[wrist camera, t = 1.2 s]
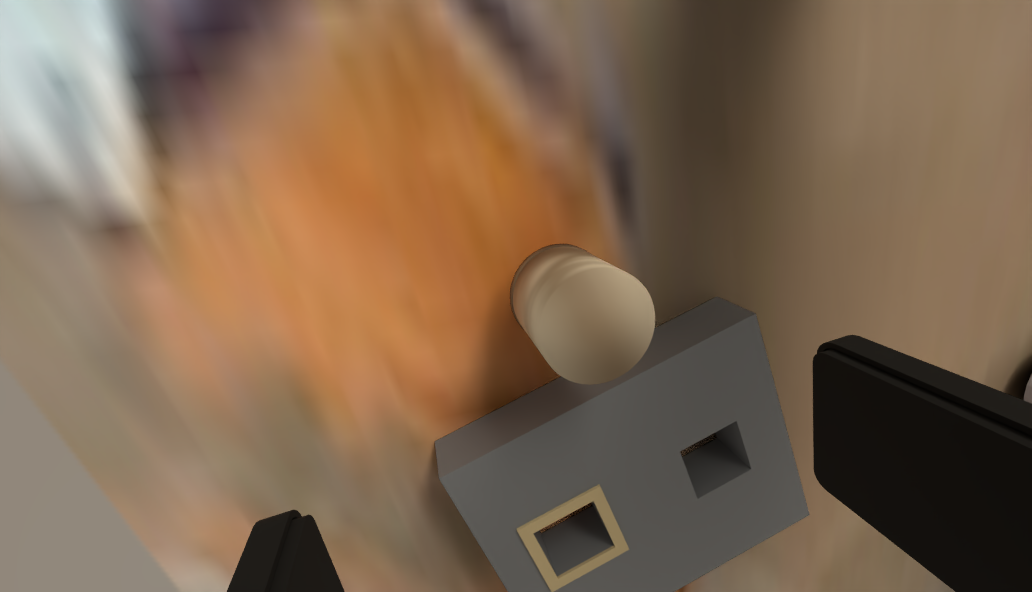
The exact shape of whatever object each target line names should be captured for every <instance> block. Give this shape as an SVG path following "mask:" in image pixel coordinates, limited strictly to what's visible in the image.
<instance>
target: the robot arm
mask: <svg viewBox="0 0 1032 592" xmlns="http://www.w3.org/2000/svg"><path fill="white" fill-rule="evenodd" d="M813 442H814V473H815V476H816V478H817V480H818V481H819V483H820V484H821V485H822V487H823V488H824V489H825V490H827V491H828V492H829V493H830V494H832V495H833V496H834V497H835V498H837V499H838V500H839V501H841V502H842V503H843V504H844V505H846V506H847V507H848V508H850V509H851V510H852V511H853V512H855V513H856V514H857V515H858V516H860V517H861V518H862V519H864V520H865V521H866V522H867V523H869V524H870V525H871V526H872V527H874V528H875V529H876V530H878V531H879V532H880V533H881V534H883V535H884V536H885V537H886V538H888V539H889V540H890V541H892V542H893V543H894V544H895V545H897V546H898V547H899V548H901V549H902V550H903V551H904V552H906V553H907V554H908V555H909V556H911V557H912V558H913V559H915V560H916V561H917V562H918V563H920V564H921V565H922V566H923V567H925V568H926V569H927V570H929V571H930V572H931V573H932V574H934V575H935V576H936V577H937V578H939V579H940V580H941V581H943V582H944V583H945V584H946V585H948V586H949V587H950V588H952V589H953V590H954V591H955V592H1032V403H1029V402H1027V401H1024V400H1021V399H1019V398H1016V397H1014V396H1011V395H1009V394H1006V393H1003V392H1001V391H998V390H996V389H993V388H991V387H988V386H986V385H983V384H980V383H978V382H975V381H973V380H970V379H968V378H965V377H962V376H960V375H957V374H955V373H952V372H950V371H947V370H944V369H942V368H939V367H937V366H934V365H932V364H929V363H927V362H924V361H921V360H919V359H916V358H914V357H911V356H909V355H906V354H903V353H901V352H898V351H896V350H893V349H891V348H888V347H886V346H883V345H880V344H878V343H875V342H873V341H870V340H868V339H865V338H862V337H860V336H856V335H848V336H845V337H842V338H838V339H835V340H832V341H829V342H826V343H823V344H822V345H820V347H819V348H818V350H817V354H816V355H815V356H814V358H813ZM227 592H345V591H344V589H343V587H342V584H341V582H340V579H339V577H338V575H337V572H336V570H335V568H334V565H333V563H332V560H331V558H330V556H329V553H328V551H327V549H326V546H325V544H324V541H323V539H322V537H321V534H320V532H319V529H318V527H317V525H316V522H315V520H314V518H313V517H312V516H311V515H306V516H303V517H302V516H301V514H300V513H299V512H298V511H297V510H291V511H288V512H285V513H282V514H279V515H275V516H272V517H269V518H266V519H263V520H259V521H258V522H256V523H255V525H254V527H253V529H252V531H251V534H250V536H249V538H248V541H247V543H246V546H245V548H244V551H243V553H242V556H241V558H240V561H239V563H238V565H237V568H236V570H235V573H234V575H233V578H232V580H231V583H230V585H229V588H228V590H227Z"/></svg>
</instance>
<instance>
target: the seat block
mask: <svg viewBox="0 0 1032 592" xmlns="http://www.w3.org/2000/svg"><path fill="white" fill-rule="evenodd" d="M713 433H715V434H716V437H717V438H716V439H714V440H713V441H711V442H709V443H707V444H705V445H703V446H701V447H700V448H698V449H696V450H694V451H692V452H690V453H689V454H687V455H685V456H683V457H682V456H681V453H680V451H682V450H684V449H685V448H687V447H689V446H691V445H693V444H695V443H697V442H698V441H700V440H702V439H704V438H706V437H708V436H710V435H711V434H713ZM435 448H436V457H437V466H438V475H439V480H440V481H441V483H442V484H443V486H444V488H445V489H446V491H447V493H448V494H449V496H450V498H451V499H452V501H453V502H454V504H455V506H456V507H457V509H458V511H459V512H460V514H461V516H462V517H463V519H464V520H465V522H466V524H467V525H468V527H469V529H470V530H471V532H472V534H473V535H474V537H475V538H476V540H477V542H478V543H479V545H480V547H481V548H482V550H483V552H484V553H485V555H486V557H487V558H488V560H489V561H490V563H491V565H492V566H493V568H494V570H495V571H496V573H497V575H498V576H499V578H500V579H501V581H502V583H503V584H504V586H505V588H506V589H507V591H508V592H675V591H676V590H678V589H680V588H682V587H683V586H685V585H687V584H689V583H690V582H692V581H694V580H696V579H697V578H699V577H701V576H703V575H704V574H706V573H708V572H710V571H712V570H713V569H715V568H717V567H719V566H720V565H722V564H724V563H726V562H727V561H729V560H731V559H733V558H734V557H736V556H738V555H740V554H741V553H743V552H745V551H747V550H748V549H750V548H752V547H754V546H756V545H757V544H759V543H761V542H763V541H764V540H766V539H768V538H770V537H771V536H773V535H775V534H777V533H778V532H780V531H782V530H784V529H785V528H787V527H789V526H791V525H792V524H794V523H796V522H798V521H800V520H801V519H803V518H805V517H807V516H808V515H809V511H808V507H807V504H806V500H805V496H804V492H803V489H802V485H801V481H800V477H799V474H798V470H797V466H796V462H795V459H794V455H793V451H792V448H791V444H790V440H789V436H788V433H787V429H786V425H785V421H784V418H783V414H782V410H781V406H780V403H779V399H778V395H777V391H776V388H775V384H774V380H773V376H772V373H771V369H770V365H769V361H768V358H767V354H766V350H765V346H764V343H763V339H762V335H761V331H760V328H759V324H758V320H757V316H756V313H754V312H751V311H749V310H747V309H744V308H742V307H740V306H738V305H735V304H733V303H731V302H729V301H726V300H724V299H722V298H719V297H715V298H713V299H711V300H709V301H707V302H705V303H703V304H701V305H699V306H697V307H695V308H693V309H692V310H690V311H688V312H686V313H684V314H682V315H680V316H678V317H676V318H674V319H672V320H670V321H668V322H666V323H664V324H662V325H660V326H658V327H656V328H655V329H654V333H653V337H652V339H651V342H650V345H649V346H648V348H647V350H646V352H645V353H644V355H643V356H642V358H641V359H640V360H639V361H638V363H637V364H636V365H635V366H634V367H633V368H631V369H630V370H629V371H628V372H626V373H625V374H623V375H622V376H620V377H618V378H616V379H614V380H612V381H608V382H605V383H601V384H592V385H588V384H579V383H575V382H572V381H569V380H567V379H565V378H563V377H562V376H561V377H559V378H557V379H555V380H553V381H551V382H549V383H548V384H546V385H544V386H542V387H540V388H538V389H536V390H534V391H532V392H530V393H528V394H526V395H524V396H522V397H520V398H518V399H516V400H514V401H513V402H511V403H509V404H507V405H505V406H503V407H501V408H499V409H497V410H495V411H493V412H491V413H489V414H487V415H485V416H483V417H481V418H479V419H478V420H476V421H474V422H472V423H470V424H468V425H466V426H464V427H462V428H460V429H458V430H456V431H454V432H452V433H450V434H448V435H446V436H444V437H442V438H441V439H439V440H437V441H435ZM589 503H592V505H593V506H591V507H589V508H587V509H585V510H583V511H582V512H580V513H578V514H576V515H574V516H572V517H571V518H569V519H567V520H565V521H563V522H561V523H559V524H558V525H556V526H554V527H552V528H550V529H548V530H547V531H545V532H543V533H541V532H540V530H541V529H543V528H544V527H546V526H548V525H550V524H552V523H554V522H556V521H557V520H559V519H561V518H563V517H565V516H567V515H568V514H570V513H572V512H574V511H576V510H578V509H580V508H581V507H583V506H585V505H587V504H589Z"/></svg>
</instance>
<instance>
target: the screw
mask: <svg viewBox="0 0 1032 592" xmlns="http://www.w3.org/2000/svg"><path fill="white" fill-rule="evenodd" d="M1024 401H1027V402H1029V403H1032V374H1031V376H1030V379H1029V381H1028V384H1027V386H1026V390H1025V394H1024Z"/></svg>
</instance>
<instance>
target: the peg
mask: <svg viewBox="0 0 1032 592" xmlns="http://www.w3.org/2000/svg"><path fill="white" fill-rule="evenodd" d="M510 304H511V309H512V312H513V314H514V317H515V318H516V320H517V322H518V323H519V325H520V326H521V327H522V328H523V330H525V332H526V333H527V334H528V336H529V337H530V339H531V340H532V341H533V343H534V344H535V346H536V347H537V349H538V350H539V351H540V353H541V354H542V356H543V357H544V358H545V360H546V361H547V363H548V364H549V365H550V367H551V368H552V369H553V370H554V371H555V372H556V373H557V374H559V375H560V376H562V377H563V378H565V379H567V380H569V381H572V382H575V383H579V384H588V385H592V384H601V383H605V382H608V381H612V380H614V379H616V378H618V377H620V376H622V375H623V374H625V373H626V372H628V371H629V370H630V369H631V368H633V367H634V366H635V365H636V364H637V363H638V361H639V360H640V359H641V358H642V356H643V355H644V353H645V352H646V350H647V348H648V346H649V345H650V342H651V339H652V337H653V333H654V327H655V310H654V305H653V302H652V299H651V297H650V294H649V293H648V291H647V289H646V288H645V287H644V286H643V284H642V283H641V282H640V281H639V280H638V279H636V278H635V277H634V276H632V275H630V274H629V273H627V272H625V271H623V270H621V269H619V268H617V267H615V266H613V265H611V264H609V263H607V262H605V261H603V260H601V259H599V258H597V257H596V256H594V255H592V254H591V253H589V252H587V251H586V250H584V249H582V248H580V247H577V246H574V245H569V244H554V245H549V246H546V247H543V248H541V249H539V250H537V251H535V252H534V253H532V254H531V255H530V256H528V257H527V258H526V259H525V260H524V261H523V263H522V264H521V265H520V266H519V268H518V269H517V271H516V273H515V275H514V277H513V280H512V283H511V288H510Z"/></svg>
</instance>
